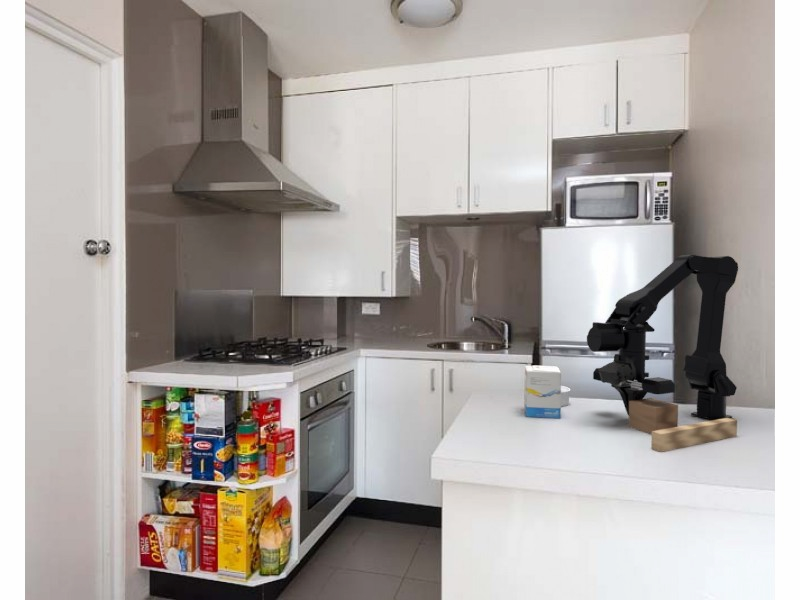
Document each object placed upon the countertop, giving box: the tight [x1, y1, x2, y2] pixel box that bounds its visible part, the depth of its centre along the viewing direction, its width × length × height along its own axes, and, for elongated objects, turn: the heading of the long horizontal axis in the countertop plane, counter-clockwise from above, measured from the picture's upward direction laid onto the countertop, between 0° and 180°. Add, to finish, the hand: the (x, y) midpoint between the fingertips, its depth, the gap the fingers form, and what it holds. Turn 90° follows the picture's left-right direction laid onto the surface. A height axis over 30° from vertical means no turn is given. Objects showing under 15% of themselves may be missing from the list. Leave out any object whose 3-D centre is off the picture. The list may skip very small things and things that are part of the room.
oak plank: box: [650, 418, 738, 453], centre depth 101 cm, size 24×2×4 cm, turn 114°
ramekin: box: [561, 385, 571, 407], centre depth 134 cm, size 9×9×4 cm
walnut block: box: [628, 397, 679, 435], centre depth 110 cm, size 7×7×6 cm
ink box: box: [523, 364, 562, 419], centre depth 123 cm, size 9×8×12 cm
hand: (630, 415), depth 115 cm, fingers closed
